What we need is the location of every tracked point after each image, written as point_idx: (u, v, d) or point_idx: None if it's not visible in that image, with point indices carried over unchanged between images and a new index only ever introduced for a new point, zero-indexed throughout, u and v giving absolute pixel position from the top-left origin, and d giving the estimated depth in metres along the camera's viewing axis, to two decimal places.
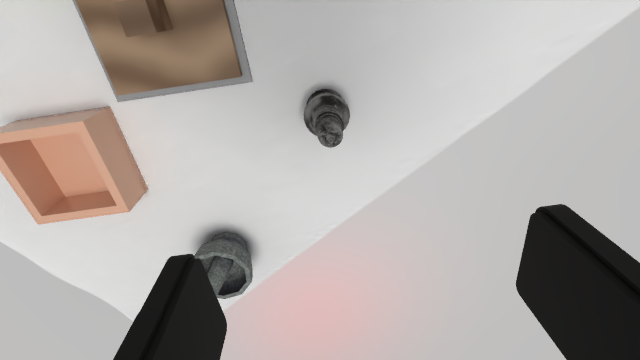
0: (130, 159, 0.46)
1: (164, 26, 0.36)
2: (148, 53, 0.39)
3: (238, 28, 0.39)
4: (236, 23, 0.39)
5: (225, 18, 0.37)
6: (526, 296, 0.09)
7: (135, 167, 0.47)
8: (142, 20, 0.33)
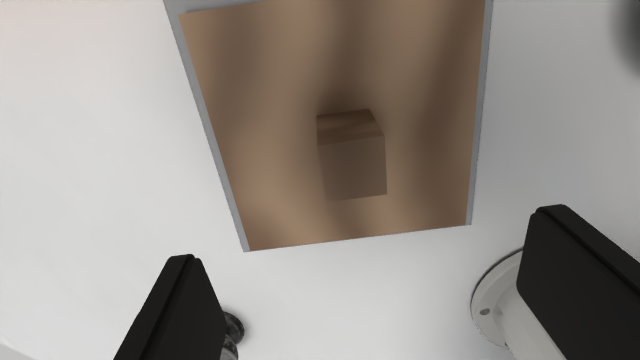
0: None
1: None
2: (279, 110, 0.19)
3: None
4: None
5: (337, 238, 0.24)
6: (526, 296, 0.09)
7: None
8: (348, 182, 0.16)
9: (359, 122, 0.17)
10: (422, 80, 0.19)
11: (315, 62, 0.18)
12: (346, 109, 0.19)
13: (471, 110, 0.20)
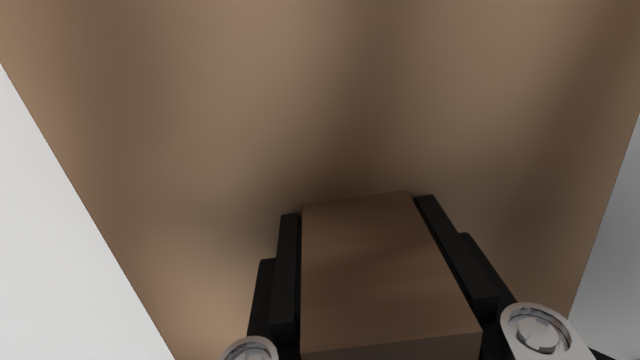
0: None
1: None
2: (228, 196, 0.10)
3: None
4: None
5: None
6: None
7: None
8: None
9: (396, 243, 0.08)
10: (518, 137, 0.09)
11: (298, 105, 0.08)
12: (362, 192, 0.10)
13: (603, 190, 0.10)
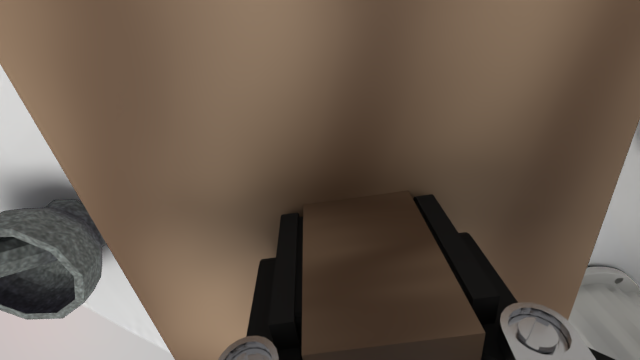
0: None
1: None
2: (229, 197, 0.10)
3: None
4: None
5: None
6: None
7: None
8: None
9: (397, 244, 0.08)
10: (520, 138, 0.09)
11: (299, 105, 0.08)
12: (362, 192, 0.10)
13: (605, 191, 0.10)
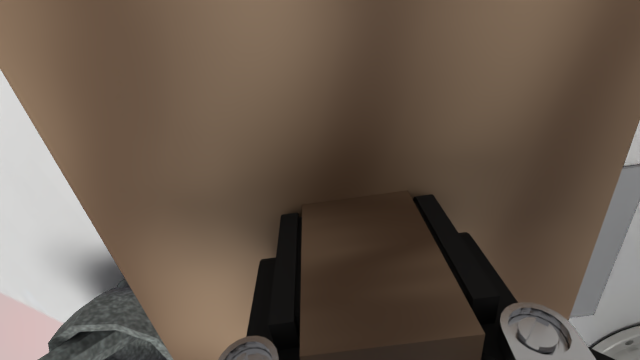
0: None
1: None
2: (227, 197, 0.10)
3: None
4: None
5: None
6: None
7: None
8: None
9: (396, 244, 0.08)
10: (520, 137, 0.09)
11: (297, 105, 0.08)
12: (362, 192, 0.10)
13: (605, 191, 0.10)
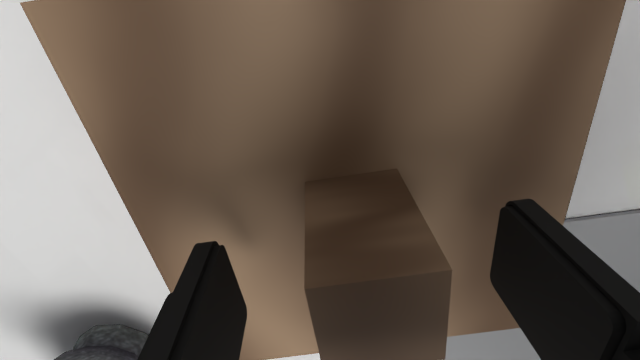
0: None
1: None
2: (239, 174, 0.11)
3: None
4: None
5: None
6: (498, 287, 0.10)
7: None
8: (370, 345, 0.08)
9: (385, 210, 0.09)
10: (493, 121, 0.10)
11: (301, 92, 0.10)
12: (357, 170, 0.11)
13: (571, 169, 0.11)
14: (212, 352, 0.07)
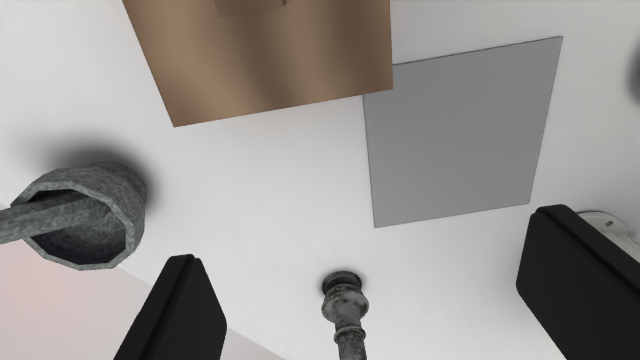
0: None
1: None
2: None
3: (429, 218, 0.38)
4: (434, 216, 0.38)
5: (263, 109, 0.23)
6: (526, 296, 0.09)
7: None
8: None
9: None
10: None
11: None
12: None
13: None
14: None
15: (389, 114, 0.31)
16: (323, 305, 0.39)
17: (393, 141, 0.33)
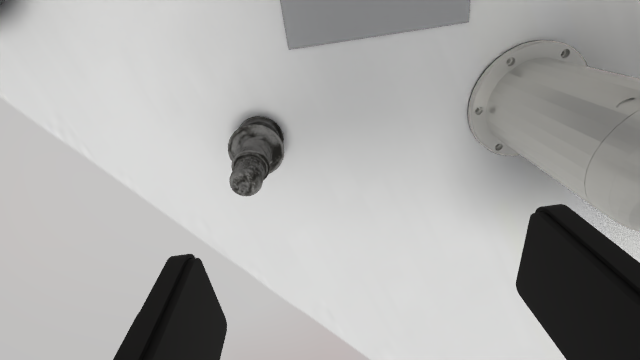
0: None
1: None
2: None
3: (351, 38, 0.32)
4: (357, 36, 0.32)
5: None
6: (526, 296, 0.09)
7: None
8: None
9: None
10: None
11: None
12: None
13: None
14: None
15: None
16: (229, 144, 0.34)
17: None
